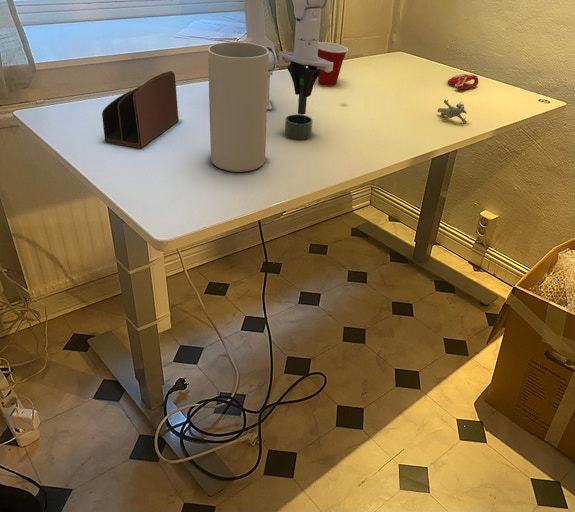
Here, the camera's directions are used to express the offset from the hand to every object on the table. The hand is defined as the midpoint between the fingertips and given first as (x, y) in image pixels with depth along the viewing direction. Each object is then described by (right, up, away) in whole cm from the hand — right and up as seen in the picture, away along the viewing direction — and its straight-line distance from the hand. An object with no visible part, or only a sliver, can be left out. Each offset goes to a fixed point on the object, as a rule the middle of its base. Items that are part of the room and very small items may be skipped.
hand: (303, 95), depth 138 cm
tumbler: (-1, -9, +5) cm, 10 cm away
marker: (0, -4, +3) cm, 5 cm away
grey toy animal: (+42, -2, +19) cm, 46 cm away
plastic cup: (+9, +16, +42) cm, 46 cm away
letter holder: (-40, -9, +2) cm, 41 cm away
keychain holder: (+55, +18, +45) cm, 73 cm away
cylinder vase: (-15, -18, -10) cm, 26 cm away
